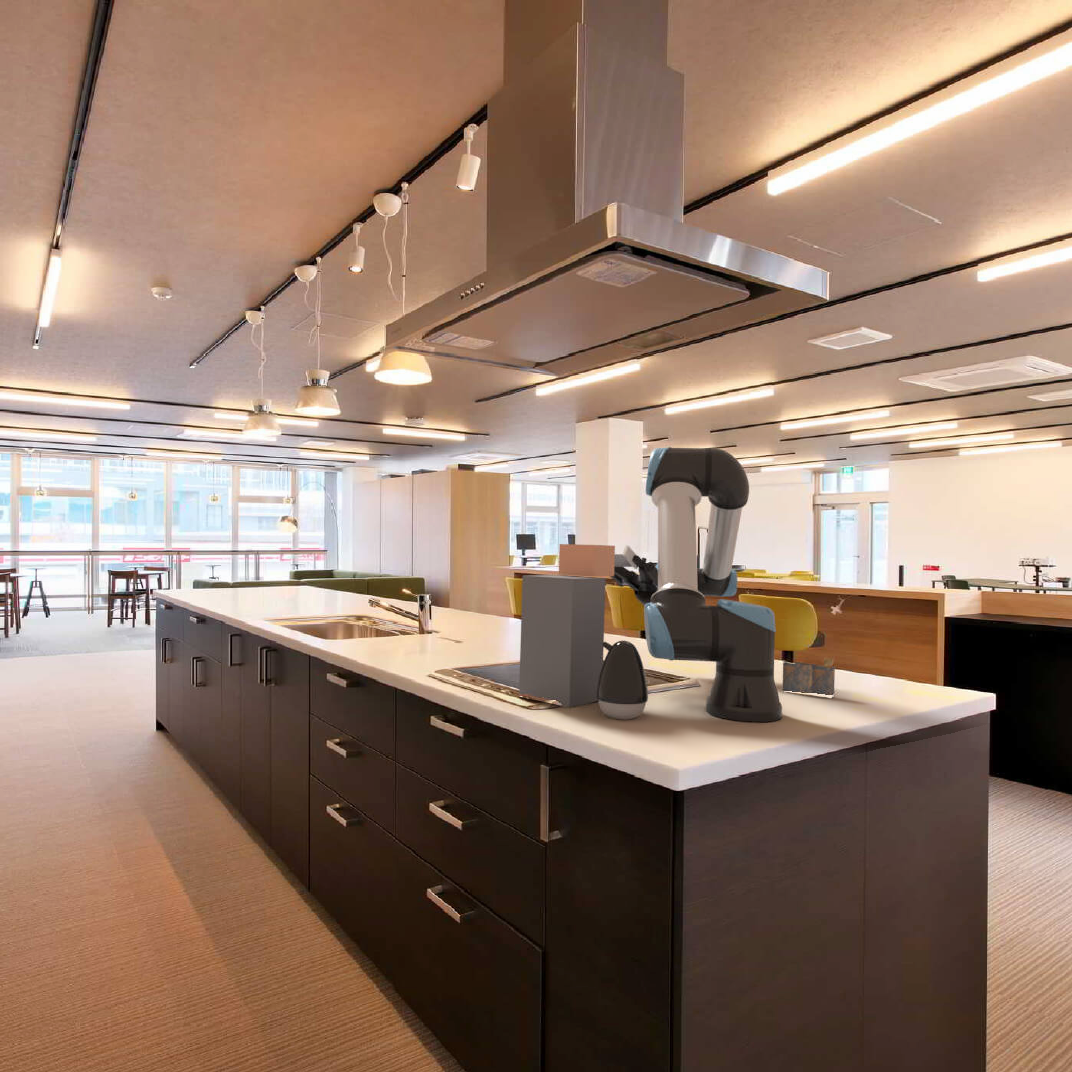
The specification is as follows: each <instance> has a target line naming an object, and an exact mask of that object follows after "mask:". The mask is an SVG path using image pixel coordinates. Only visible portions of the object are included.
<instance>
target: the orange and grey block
mask: <svg viewBox="0 0 1072 1072" xmlns="http://www.w3.org/2000/svg"><path fill="white" fill-rule="evenodd" d="M558 548H559V550H558V553H559V554H558V555H559V556H558V557H559V558H558V560H559V561H558V575H561V576H578V577H610V576H614V567H624V568H633V566H632V565H631V564H630V563H629V562H628V561H627V560H626V559H625V558H624V557H623V553H622V554H621V553H620V554H617V553H616V552H615V551H616V546H615V545H603V544H576V543H575V544H572V543H571V544H568V543H559V547H558Z"/></svg>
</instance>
